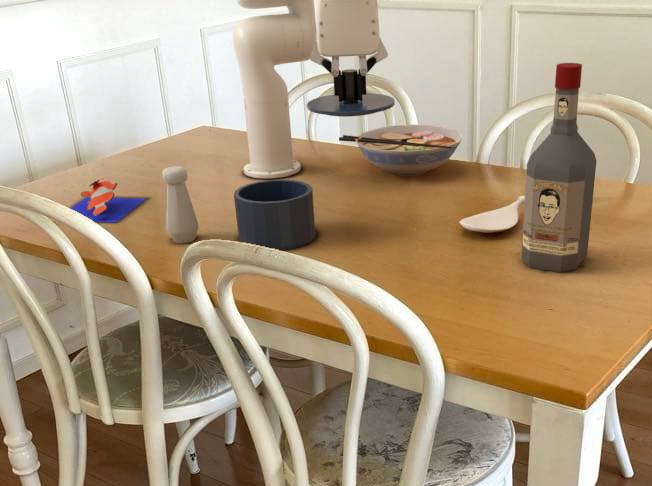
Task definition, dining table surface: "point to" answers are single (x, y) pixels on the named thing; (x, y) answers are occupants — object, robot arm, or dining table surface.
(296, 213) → the pot
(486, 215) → the spoon
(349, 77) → the lid
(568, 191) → the liquor
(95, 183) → the fish
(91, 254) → the dining table surface
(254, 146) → the robot arm
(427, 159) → the ramen bowl
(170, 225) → the salt shaker
